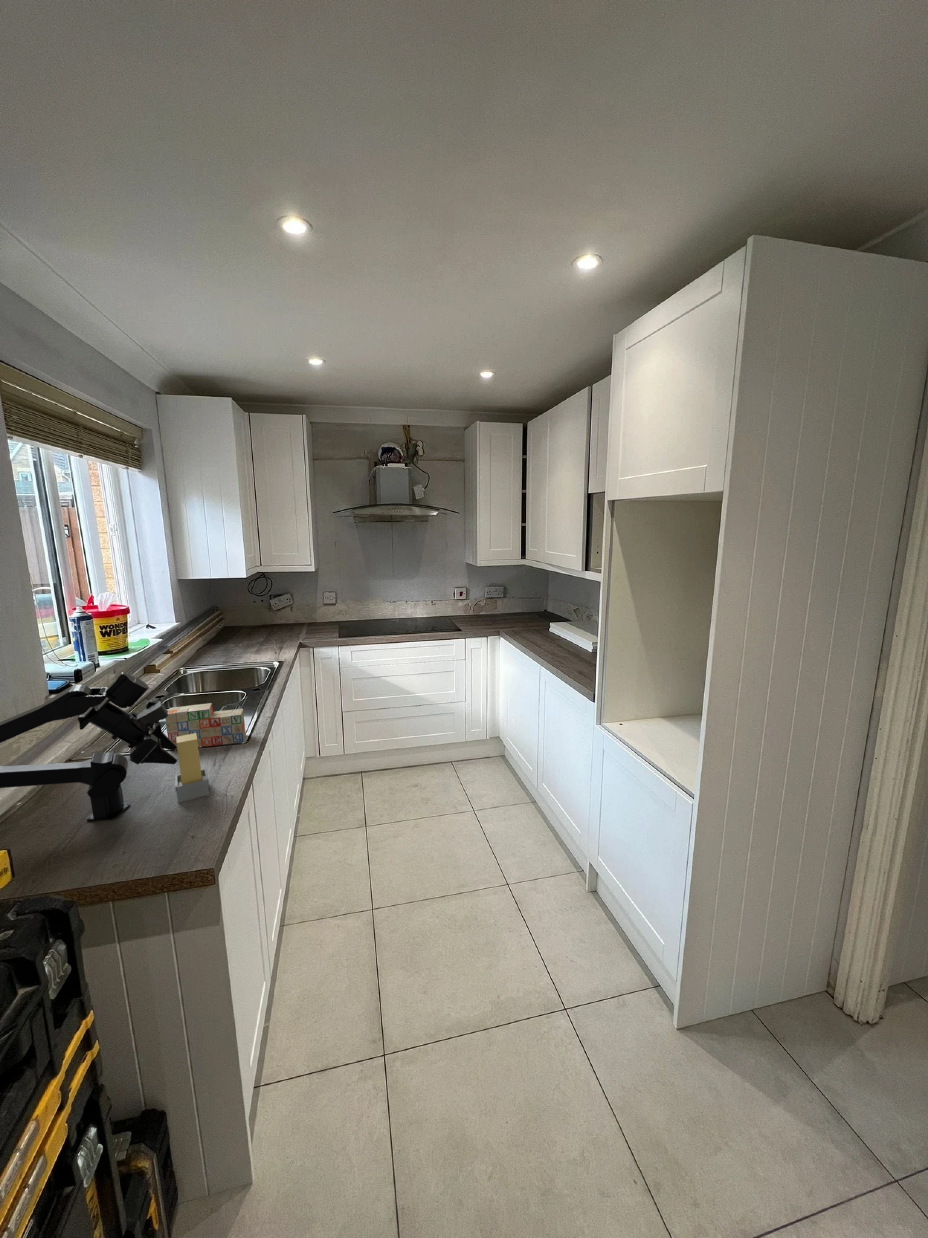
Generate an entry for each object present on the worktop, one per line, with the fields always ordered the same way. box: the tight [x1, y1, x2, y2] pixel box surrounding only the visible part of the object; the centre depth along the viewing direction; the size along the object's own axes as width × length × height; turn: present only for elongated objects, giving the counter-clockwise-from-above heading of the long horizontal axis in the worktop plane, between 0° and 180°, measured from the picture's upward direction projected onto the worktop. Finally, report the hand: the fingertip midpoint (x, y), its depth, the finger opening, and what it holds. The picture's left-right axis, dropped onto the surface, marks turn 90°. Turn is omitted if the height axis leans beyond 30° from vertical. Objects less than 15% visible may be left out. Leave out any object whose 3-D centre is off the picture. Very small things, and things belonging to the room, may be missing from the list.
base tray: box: [174, 768, 210, 804], centre depth 128 cm, size 7×7×4 cm
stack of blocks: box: [164, 702, 246, 749], centre depth 159 cm, size 21×6×12 cm, turn 107°
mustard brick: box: [176, 733, 202, 785], centre depth 127 cm, size 4×4×12 cm
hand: (175, 755), depth 125 cm, fingers open, 9 cm apart
